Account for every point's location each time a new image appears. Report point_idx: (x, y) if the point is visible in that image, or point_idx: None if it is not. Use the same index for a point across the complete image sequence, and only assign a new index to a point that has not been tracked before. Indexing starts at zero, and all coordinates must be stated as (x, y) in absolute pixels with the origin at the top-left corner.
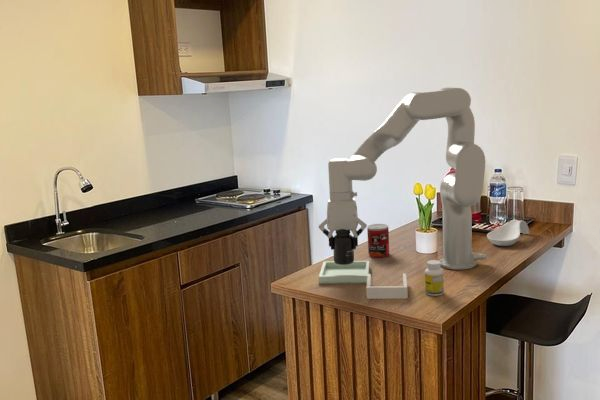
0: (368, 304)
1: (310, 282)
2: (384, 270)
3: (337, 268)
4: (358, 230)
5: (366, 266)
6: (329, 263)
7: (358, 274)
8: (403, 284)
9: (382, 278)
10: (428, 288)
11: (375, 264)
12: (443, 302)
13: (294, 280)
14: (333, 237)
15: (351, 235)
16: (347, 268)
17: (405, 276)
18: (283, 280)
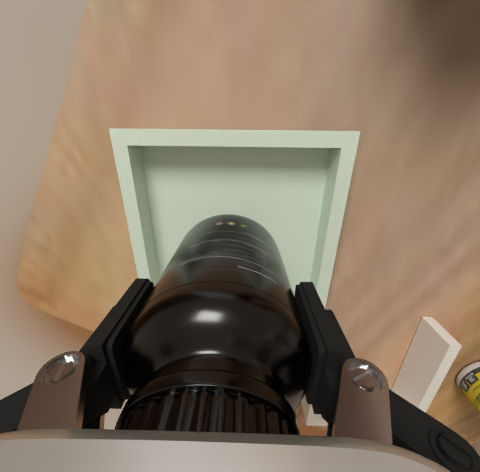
0: (299, 414)
1: (124, 289)
2: (402, 178)
3: (193, 159)
4: (412, 451)
5: (330, 225)
6: (146, 145)
7: (287, 241)
8: (415, 394)
9: (370, 267)
10: (473, 404)
11: (384, 74)
12: (469, 414)
13: (61, 269)
14: (123, 376)
15: (301, 383)
16: (240, 162)
17: (446, 368)
18: (22, 267)
